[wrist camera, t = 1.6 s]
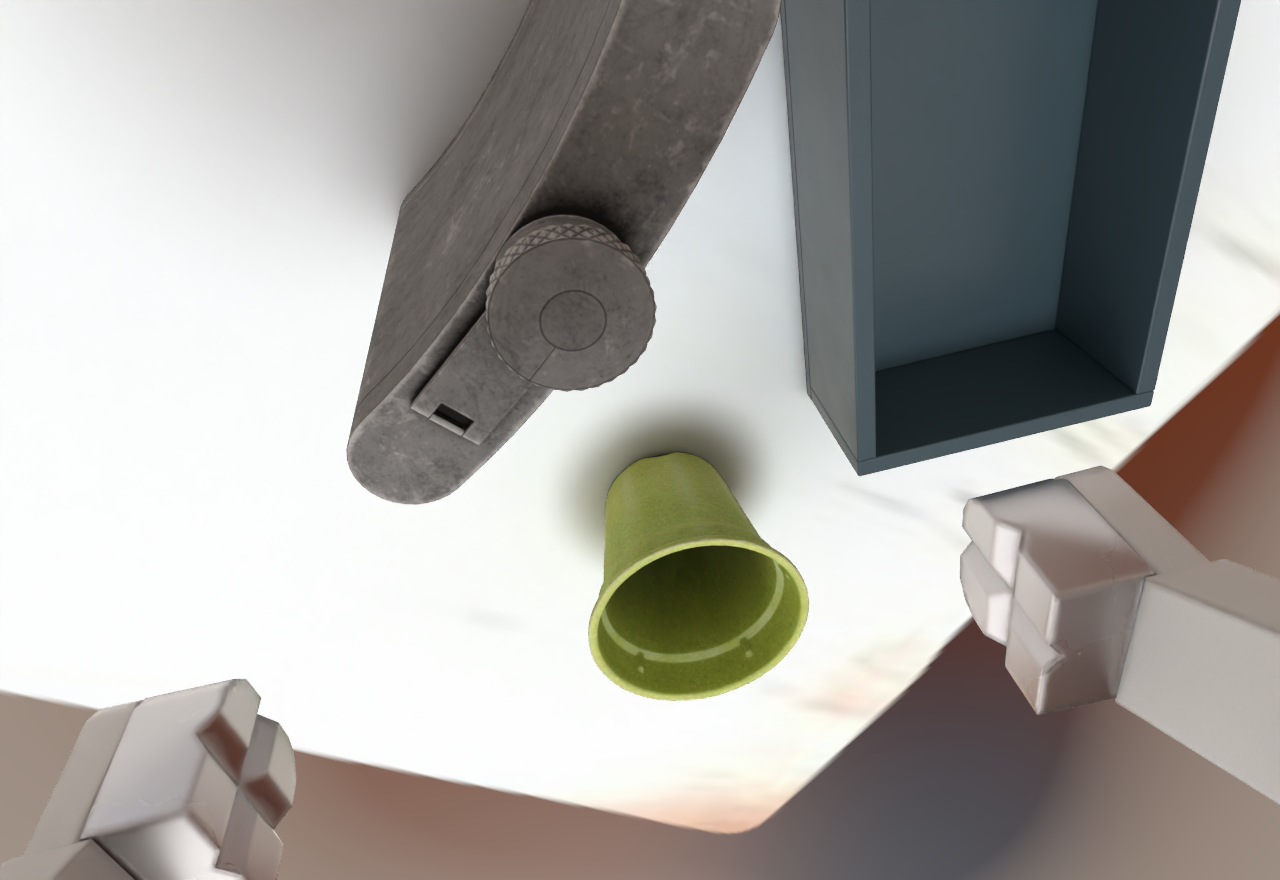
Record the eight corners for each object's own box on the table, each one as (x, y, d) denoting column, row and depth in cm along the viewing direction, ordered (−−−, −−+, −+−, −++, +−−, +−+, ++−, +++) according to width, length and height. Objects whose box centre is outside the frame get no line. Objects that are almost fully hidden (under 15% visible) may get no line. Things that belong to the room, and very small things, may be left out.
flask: (679, -60, 28) (893, 26, 14) (470, 278, 34) (464, 596, 19) (588, -136, 27) (721, -131, 12) (386, 232, 32) (309, 540, 18)
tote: (768, -156, 27) (839, -160, 22) (1140, -238, 27) (1300, -262, 22) (807, 394, 40) (858, 477, 34) (1061, 333, 40) (1151, 406, 35)
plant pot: (534, 529, 42) (545, 665, 35) (641, 389, 38) (677, 508, 31) (682, 590, 46) (718, 722, 39) (791, 467, 42) (854, 589, 35)
